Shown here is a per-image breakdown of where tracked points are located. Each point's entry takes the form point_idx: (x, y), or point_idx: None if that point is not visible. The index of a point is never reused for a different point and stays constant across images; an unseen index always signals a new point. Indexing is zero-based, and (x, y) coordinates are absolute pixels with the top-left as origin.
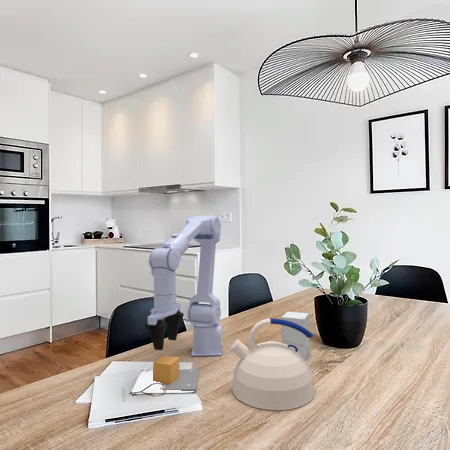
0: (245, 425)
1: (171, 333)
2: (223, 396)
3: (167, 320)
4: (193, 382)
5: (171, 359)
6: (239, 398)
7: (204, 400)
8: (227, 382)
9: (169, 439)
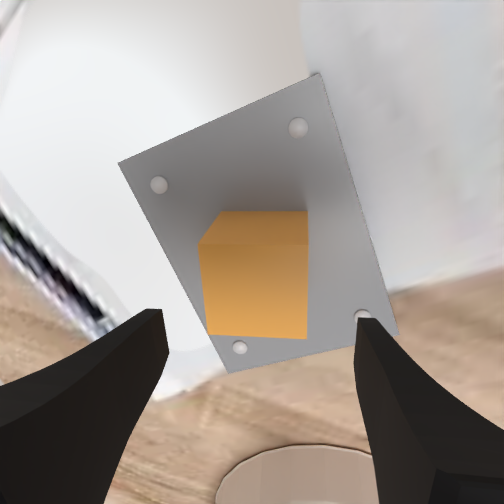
0: (141, 483)
1: (364, 377)
2: (242, 430)
3: (403, 453)
4: (270, 353)
5: (270, 313)
6: (236, 469)
7: (200, 394)
8: (335, 425)
9: (15, 373)
